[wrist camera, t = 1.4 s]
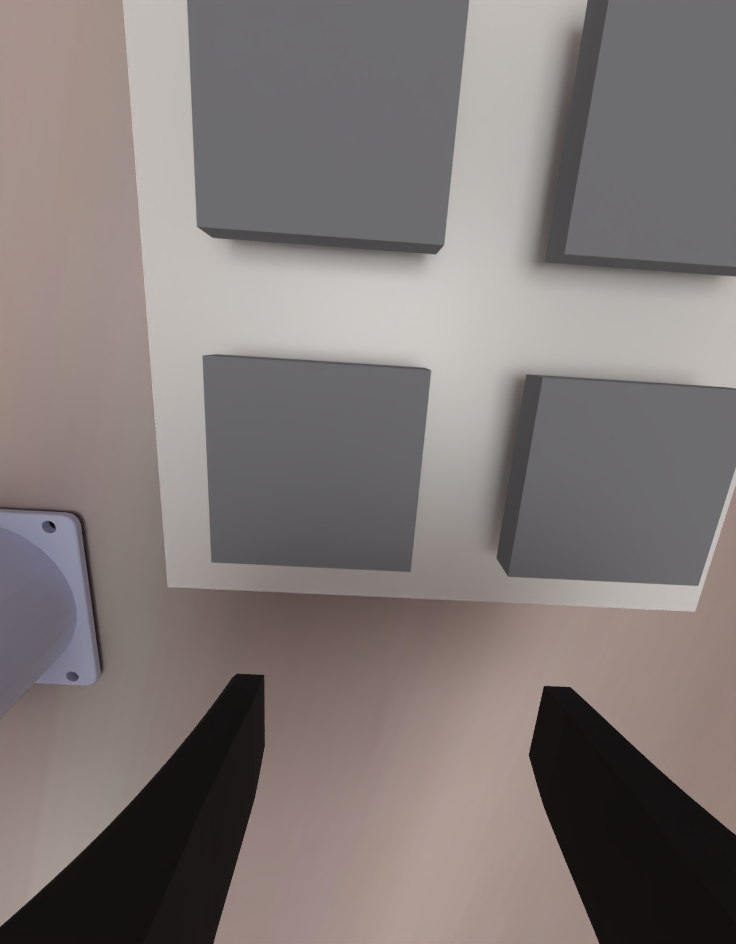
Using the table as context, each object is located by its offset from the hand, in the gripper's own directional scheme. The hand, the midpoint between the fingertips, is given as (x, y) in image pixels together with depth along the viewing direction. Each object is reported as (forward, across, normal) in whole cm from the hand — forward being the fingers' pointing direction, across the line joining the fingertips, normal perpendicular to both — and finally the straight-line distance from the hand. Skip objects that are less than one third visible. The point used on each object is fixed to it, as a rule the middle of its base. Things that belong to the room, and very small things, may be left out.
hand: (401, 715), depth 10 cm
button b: (+7, -6, -4) cm, 11 cm away
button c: (+7, +2, -13) cm, 15 cm away
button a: (+7, +2, -4) cm, 9 cm away
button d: (+7, -6, -13) cm, 17 cm away
